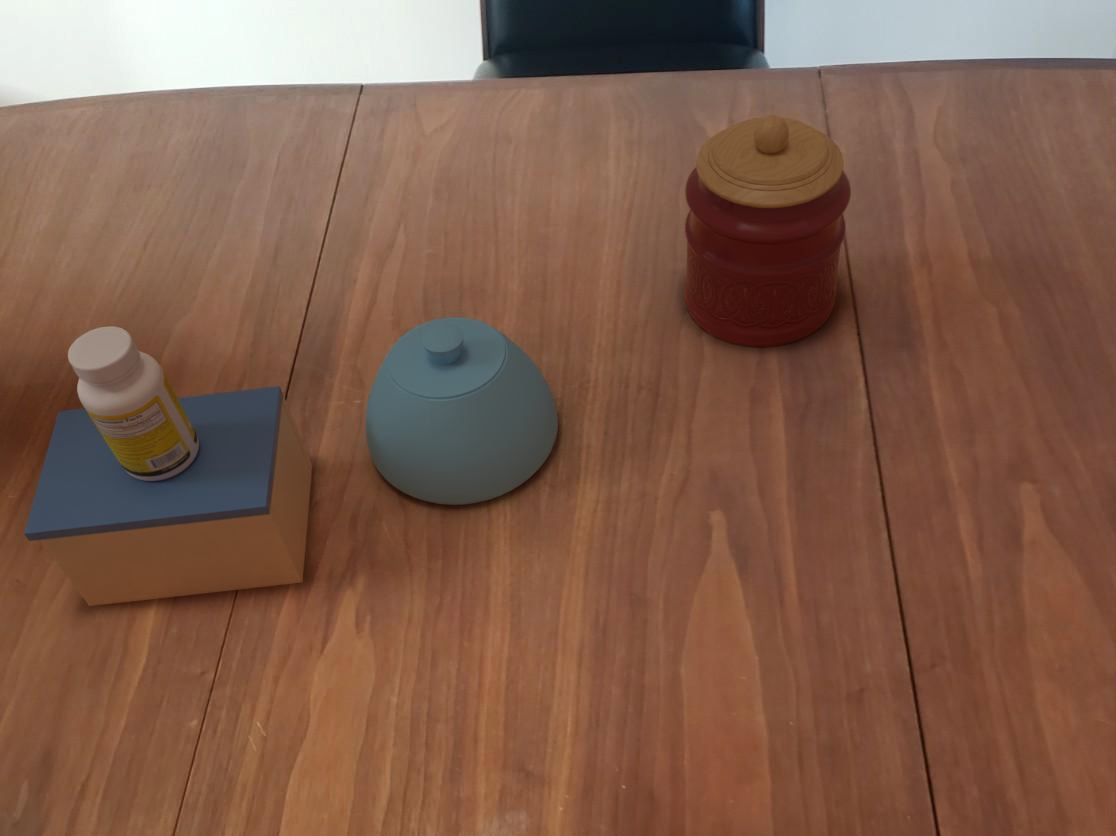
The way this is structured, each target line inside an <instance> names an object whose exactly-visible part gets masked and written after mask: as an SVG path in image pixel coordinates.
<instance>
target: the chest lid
mask: <svg viewBox="0 0 1116 836" xmlns="http://www.w3.org/2000/svg"><path fill="white" fill-rule="evenodd" d="M283 395H284V393H283V391H282V388H281V386H271V387H270V386H269V387H260V388H253V389H243V390H234V391H226V392H216V393H209V394H199V395H189V396H181V397H177V398H178V400H179V402H180V404H181V406H182V407H183V409H184V411H185V413H186V415H187V417H188V419H189V421H190V422H191V424H192V426H193V428H194V430H195V432H196V434H197V436H198V440H199V449H198V452H197V455H196V457H195V458H194V460H193V461H192V463H191V464H190V465H189V466H188V467H187V468H186V469H184V470H183V471H182V472H180V473H178V474H177V475H175V476H172V477H170V478H167V479H163V480H158V481H144V480H140V479H137V478H134V477H132V476H131V475H129V474H128V473H127V472H126V471H125V470H124V468H123V467H122V465H121V464H120V462H119V461H118V459H117V458H116V456H115V455H114V453H113V451H112V450H111V448H110V447H109V445H108V444H107V442H106V441H105V439H104V437H103V436H102V434H101V433H100V431H99V430H98V428H97V426H96V425H95V423H94V422H93V420H92V419H91V417H90V416H89V414H88V412H87V411H86V409H85V408H84V407H83V408H76V409H75V408H74V409H65V410H58V412H57V415H56V419H55V422H54V426H53V430H52V433H51V437H50V440H49V444H48V447H47V450H46V454H45V458H44V462H43V464H42V468H41V472H40V475H39V479H38V482H37V486H36V489H35V493H34V497H33V499H32V503H31V507H30V511H29V514H28V517H27V521H26V524H25V528H24V531H23V535H24V536H25V538H26V539H27V540H28V541H30V542H33V541H39V540H42V539H51V538H60V537H69V536H78V535H87V534H95V533H104V532H113V531H122V530H131V529H140V528H148V527H157V526H166V525H175V524H184V523H193V522H201V521H210V520H219V519H228V518H237V517H246V516H254V515H263V514H269V513H270V505H271V496H272V487H273V479H274V470H275V461H276V452H277V443H278V434H279V425H280V416H281V407H282V398H283Z"/></svg>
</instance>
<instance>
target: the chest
mask: <svg viewBox="0 0 1116 836" xmlns="http://www.w3.org/2000/svg"><path fill="white" fill-rule="evenodd" d="M312 473H313V464H312V462H311V460H310V457H309V454H308V452H307V449H306V447H305V445H304V443H303V440H302V437H301V435H300V432H299V429H298V426H297V425H296V421H295V420H294V418H293V415H292V413H291V410H290V408H289V405H288V402H287V400H286V398H285V395H284V394H283V398H282V407H281V416H280V425H279V434H278V443H277V452H276V461H275V470H274V479H273V487H272V496H271V505H270V513H269V514H263V515H254V516H246V517H237V518H228V519H219V520H210V521H201V522H193V523H184V524H175V525H166V526H157V527H148V528H140V529H131V530H122V531H113V532H104V533H95V534H87V535H78V536H69V537H60V538H51V539H42V540H38V541H39V543H40V544H41V546H43V548H44V549H45V551H47V553H48V554H49V556H50V557H51V558H52V559H53V561H54V562H55V563H56V565H57V566H58V567H59V568H60V570H61V571H62V572H63V573H64V575H65V576H66V578H67V579H68V580H69V581H70V583H71V584H72V585H73V587H74V588H75V589H76V591H77V592H78V594H79V595H80V596H81V597H82V598H83V600H84V601H85V602H86V604H87V605H88V606H89V607H94V606H102V605H112V604H120V603H129V602H139V601H140V602H141V601H148V600H157V599H165V598H166V599H167V598H175V597H185V596H193V595H201V594H209V593H210V594H212V593H218V592H219V593H221V592H228V591H236V590H247V589H256V588H264V587H265V588H266V587H273V586H282V585H291V584H292V585H293V584H301V583H303V579H304V571H305V570H304V569H305V568H304V567H305V558H306V557H305V555H306V546H307V532H308V523H309V522H308V520H309V511H310V510H309V509H310V496H311V486H312Z"/></svg>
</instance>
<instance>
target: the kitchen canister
mask: <svg viewBox="0 0 1116 836" xmlns="http://www.w3.org/2000/svg"><path fill="white" fill-rule="evenodd" d="M844 164H845V162H844V156H843V152H842V151H841V149H840V147H839V146H838V145H837V143H836V142H835V141H834V140H833V139H832V138H830V137H829V136H828V135H826V134H825V133H823V132H821V131H820V130H818V129H816V128H814V127H812V126H811V125H809V124H807V123H805V122H802V121H799V120H797V119H792V118H788V117H787V118H786V117H781V116H779V115H773V114H771V115H766V116H762V117H755V118H750V119H746V120H743V121H740V122H738V123H735V124H733V125H731V126H729V127H726V128H724V129H722V130H721V131H719V132H717V133H715V134H714V135H712V136H711V137H710V138H708V140H706V141H705V143H703V145H702V146H701V148H700V149H699V151H698V153H697V155H696V162H695V167H694V168H693V169H692V171H691V172H690V174H689V176H688V178H687V180H686V184H685V189H684V195H685V199H686V200H685V201H686V204H687V207H688V208H689V211H688V213H687V215H686V218H685V222H684V234H685V237H686V277H685V279H684V280H685V281H684V301H685V306H686V308H687V309H686V310H687V312H688V313H689V315H690V316H691V318H692V319H693V321H694V322H695V323H696V324H697V326H699V328H701V329H702V330H703V331H705V332H706V333H708V334H709V335H711V336H713V337H715V338H716V339H719V340H721V341H724V342H727V343H730V344H733V345H737V346H744V347H750V348H751V347H753V348H767V347H768V348H769V347H776V346H778V347H779V346H783V345H787V344H791V343H794V342H798V341H801V339H804V338H807V337H808V336H810V335H812V334H813V333H815V332H816V331H817V330H819V329H820V328H821V327H822V326H823V325H824V324H825V323H826V321H827V320H828V319H829V317H830V315H831V314H832V312H833V310H834V307H835V304H836V296H837V290H838V289H837V288H838V286H837V276H838V270H839V269H838V268H839V263H840V262H839V261H840V255H841V248H842V244H843V242H844V239H845V235H846V219H845V217H844V213H845V211H846V209H847V208H848V206H849V203H850V201H851V195H852V187H851V183H850V180H849V177H848V175H847V173H846V171H844V166H845V165H844Z"/></svg>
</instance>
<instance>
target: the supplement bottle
mask: <svg viewBox="0 0 1116 836" xmlns="http://www.w3.org/2000/svg"><path fill="white" fill-rule="evenodd" d="M67 359H68V362H69V364H70V366H71V367H72V369H73V371H74V372H75V374H76V376H77V377H78V381H77V387H76V391H77V397H78V399H79V401H80V403H81V405H82V407H83V408H85V409H86V411H87V412H88V414H89V416H90V417H91V419H92V420H93V422H94V423H95V425H96V426H97V428H98V430H99V431H100V433H101V434H102V436H103V437H104V439H105V441H106V442H107V444H108V445H109V447H110V448H111V450H112V451H113V453H114V455H115V456H116V458H117V459H118V461H119V462H120V464H121V465H122V467H123V468H124V470H125V471H126V472H127V473H128V474H129V475H131V476H132V477H134V478H137V479H140V480H144V481H158V480H163V479H167V478H170V477H172V476H175V475H177V474H178V473H180V472H182V471H183V470H184V469H186V468H187V467H188V466H189V465H190V464H191V463H192V461H193V460H194V458H195V457H196V455H197V452H198V449H199V440H198V436H197V434H196V432H195V430H194V428H193V426H192V424H191V422H190V421H189V419H188V417H187V415H186V413H185V411H184V409H183V407H182V406H181V404H180V402H179V400H178V398H179V397H178V396H177V394H176V393H175V390H174V389H173V387H172V385H171V383H170V382H169V380H168V377H167V376H166V374H165V372H164V371H163V368H162V367H161V366H160V364H159V363H158V361H157V360H156V359H155V358H154V357H153V356H152V355H150V354H148V353H145V352H143V351H140V350H139V348H138V346H137V344H136V342H135V341H134V339H133V337H132V336H131V334H130V333H129V331H127V330H125V329H124V328H122V327H118V326H102V327H96V328H94V329H90V330H89V331H87V332H84V333H83V334H82V335H80V336H79V337H77V338H76V339H75V340H74V341H73V343H72V344H71V345H70V346H69V349H68V351H67Z"/></svg>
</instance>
